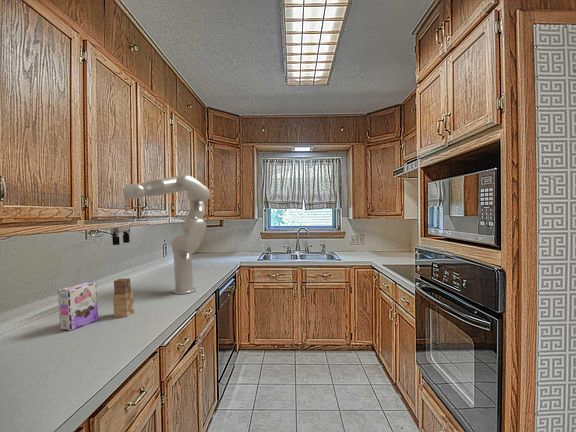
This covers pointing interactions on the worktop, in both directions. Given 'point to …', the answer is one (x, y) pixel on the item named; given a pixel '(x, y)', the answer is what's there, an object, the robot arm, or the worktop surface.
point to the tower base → (123, 310)
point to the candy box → (77, 306)
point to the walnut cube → (122, 286)
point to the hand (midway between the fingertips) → (121, 243)
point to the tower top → (123, 299)
